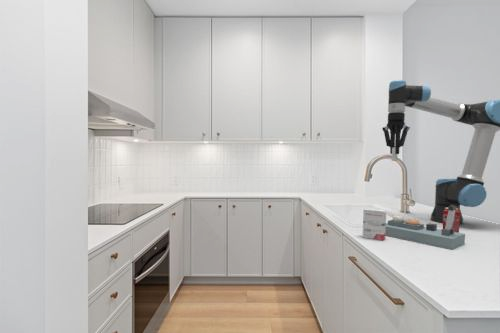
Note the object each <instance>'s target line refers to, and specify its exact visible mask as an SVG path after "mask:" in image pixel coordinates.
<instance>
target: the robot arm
mask: <svg viewBox="0 0 500 333" xmlns="http://www.w3.org/2000/svg"><path fill="white" fill-rule="evenodd" d="M431 95H432V91H431V88H430V86H427V85H407V81H406V80H403V79H395V80H393V81H390V82H389V86H388V103H387V104H388V106H387V107H388V108H387V109H388V110H387V112H388V113H387V123H386V126H383V127H382V128H381V129H382V131H383V134H384V139H385V145H386V147H389V148H390V152H389V154H391V161H392V162H397V161H398V155H399V154H400V148H401V147H404V145H405V141H406V138H407V135H408V131H410V129H411V127H410V126H408V125H406V122H405V116H406V114H405V112H406V111H405V110H406V107H407V108H412V109H415V110H419V111H423V112H426V113H430V114H435V115H439V116H443V117H447V118H451V120H452V121H454V122H458V123H461V124H465V125H469V126H472V127H473V128H474V131H473V135H472V138H471V141H470V146H469V149H468V152H467V156H466V160H465V162H464V166H463V169H462V171H461V174H460V175H457V177H456V178H440V179H439V178H438V179H437V180H436V182H435V192H434V193H435V195H434V196H435V198H434V206H433V207H434V208H433V210H432V211H431V215H430V220H431V221H433V222H436V223H442V224H443V211H444V210H445V208H446V207H449V206H450V205H455V206H457V209H458V210H459V212H460V222H459V225H460V224H463V223H464V217H463V214H462V211H461V206H463V207H467V208H468V207H469V208H476V207H479V206H480V205H482V204H483V203H484V202H485V200H486V199H487V191H486V187H485V186H484V185H485V182H484V180H483V179H482V178H483V175H484V172H485V168H486V166H487V163H488V159H489V155H490V152H491V148H492V146H493V142H494V139H495V136H496V133H497V132H498V131H500V99H493V100H492V99H491V100H488V101H482V102H479V103H478V102H477V103H470V104H468V103H467V104H466V103H462V102H460V103H458V104H457V103H454V102H450V101H446V100H443V99H440V98H439V99H438V98H435V97H431Z"/></svg>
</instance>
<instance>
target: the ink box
mask: <svg viewBox="0 0 500 333" xmlns="http://www.w3.org/2000/svg"><path fill="white" fill-rule="evenodd" d="M362 218H363V219H362V238H365V239H370V240H378V241H384V240H385V239H386V236H385V232H386V223H387V210H380V209H372V208H365V209H363V216H362Z"/></svg>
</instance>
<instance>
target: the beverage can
mask: <svg viewBox="0 0 500 333" xmlns="http://www.w3.org/2000/svg"><path fill="white" fill-rule="evenodd" d="M448 211H449V210H448V207H446V208H445V210H444V211H443V223H442V229H445V226H446V221H447V216H448ZM459 222H460V212H459V210H458V209H456V210H455V215H454V220H453V225H452V228H454V232H458V233H460V224H459Z"/></svg>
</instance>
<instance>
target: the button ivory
mask: <svg viewBox="0 0 500 333" xmlns="http://www.w3.org/2000/svg"><path fill="white" fill-rule="evenodd" d="M404 218H405V216H404V215H401V214H400V215H398V214H396V215H395V214H394V215H392V220H393V222H399V223H403V222H404V221H405V220H404Z"/></svg>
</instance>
